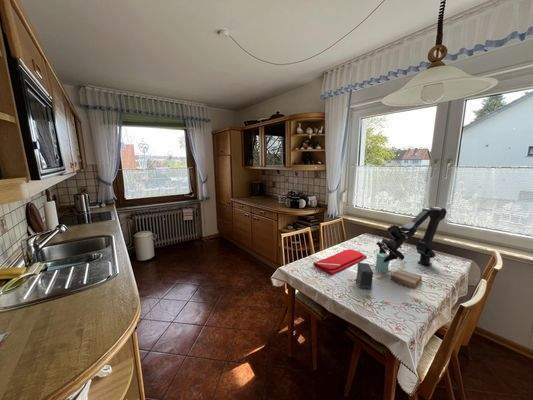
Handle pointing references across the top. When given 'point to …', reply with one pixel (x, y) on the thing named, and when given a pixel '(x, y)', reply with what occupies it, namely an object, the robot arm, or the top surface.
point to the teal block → (382, 262)
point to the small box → (364, 276)
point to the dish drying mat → (339, 261)
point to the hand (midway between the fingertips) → (380, 260)
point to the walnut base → (406, 278)
